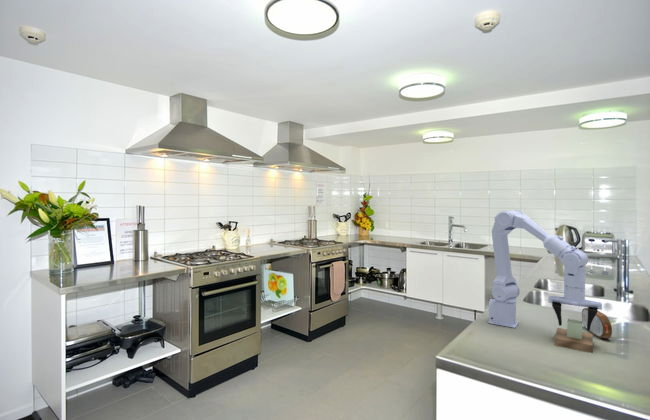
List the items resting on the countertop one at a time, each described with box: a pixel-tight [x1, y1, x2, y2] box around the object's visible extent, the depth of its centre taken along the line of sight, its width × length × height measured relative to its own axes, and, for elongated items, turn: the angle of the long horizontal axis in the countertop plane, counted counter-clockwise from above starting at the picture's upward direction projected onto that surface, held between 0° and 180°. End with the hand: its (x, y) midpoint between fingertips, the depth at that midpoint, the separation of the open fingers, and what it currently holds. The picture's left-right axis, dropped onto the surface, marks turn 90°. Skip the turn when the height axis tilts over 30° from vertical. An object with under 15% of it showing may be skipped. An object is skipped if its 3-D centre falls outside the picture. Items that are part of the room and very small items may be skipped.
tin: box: [581, 307, 613, 339], centre depth 127 cm, size 15×3×8 cm, turn 168°
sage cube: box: [566, 318, 583, 339], centre depth 118 cm, size 4×4×5 cm
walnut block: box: [554, 327, 594, 354], centre depth 118 cm, size 10×12×3 cm
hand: (574, 327), depth 118 cm, fingers open, 7 cm apart
